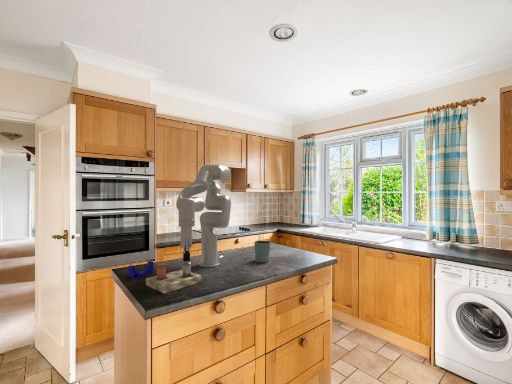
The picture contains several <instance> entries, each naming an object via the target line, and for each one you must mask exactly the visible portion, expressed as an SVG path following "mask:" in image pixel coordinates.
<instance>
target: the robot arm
mask: <svg viewBox="0 0 512 384" xmlns="http://www.w3.org/2000/svg"><path fill="white" fill-rule="evenodd" d="M230 178H231V169H230V168H229V167H228V166H226V165H222V164H204V165H202V166H201V167H200V168H199V170H198V172H197V175H196V177H195V179H194V181H193V182H191V183H190V184H189V185H187V186H185V187H184V188H183V189H182V190H181V191H180V193H179V195H178V197H177V199H176V205H175V206H176V209H177V210H178V227H179V228H180V242H179V244H180V248H181V249H183V252H182V262H186V261H190V262H191V248H192V245H193V244H192V243H193V227H195V222H196V221H195V215H196V214H195V213H199V212H200V213H201V212H202V211H204V209H205V210H207V211H204V212H202V213H201V214H200V216H199V223H200V230H201V231H200V232H201V233H200V234H201V238H200V239H201V244H200V245H201V246H200V247H201V253H200V254H201V260H200V261H199V262H198V266H199V267H202V268H215V267H218V266H220V264H221V261H220V260H223V259H224V256H223V255H218V236H219V235H218V232H217V231H216V230H215V229H226V228H228V226H229V225H230V218H231V217H230V216H231V210H232V209H231V208H232V200H231V197H230V196H229V195H225V194H222V195H221V190H222V189H221V187H220V184H218V182H217V181H228V180H229V179H230ZM204 192H205V193H206V195H205V200H204V198H203V197H199V196H198V197H197V195H199V194H202V193H204Z"/></svg>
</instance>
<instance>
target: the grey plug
mask: <svg viewBox="0 0 512 384" xmlns="http://www.w3.org/2000/svg"><path fill="white" fill-rule="evenodd" d="M192 263H193V262H192V261H191V260H190V261H186V262H184V261H182V262H181V265H182V269H181V270H182V276H183V277H189V276H191V272H192Z"/></svg>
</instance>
